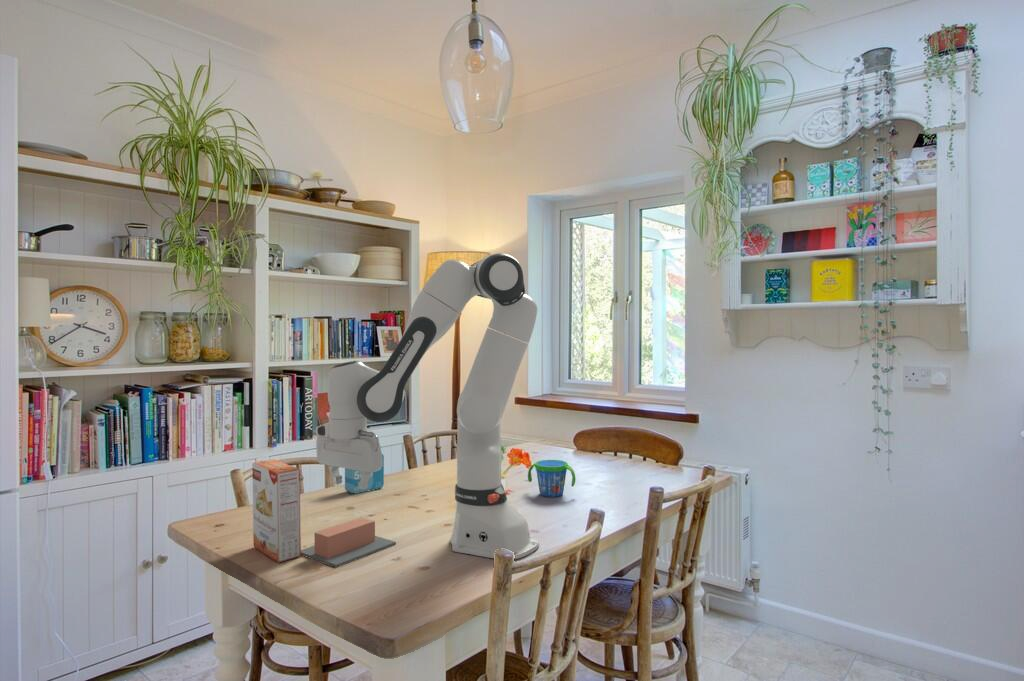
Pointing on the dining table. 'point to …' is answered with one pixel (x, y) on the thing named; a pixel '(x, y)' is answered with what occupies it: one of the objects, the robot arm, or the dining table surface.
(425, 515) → the dining table surface
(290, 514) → the cracker box
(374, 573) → the dining table surface
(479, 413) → the robot arm
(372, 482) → the data package
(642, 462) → the dining table surface
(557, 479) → the snack cup
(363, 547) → the mat
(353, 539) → the block
